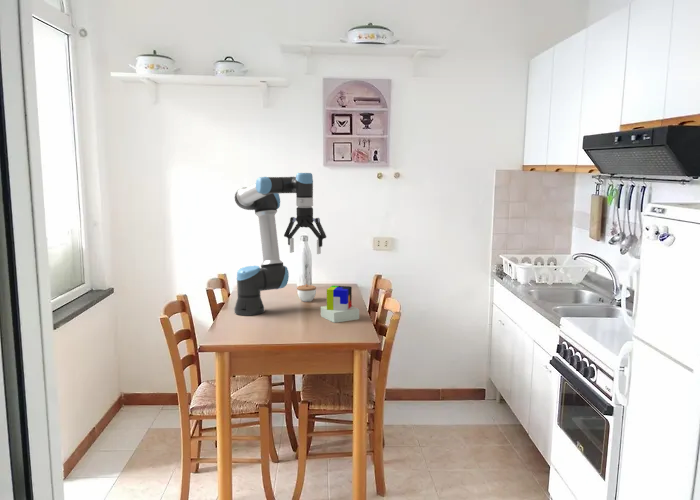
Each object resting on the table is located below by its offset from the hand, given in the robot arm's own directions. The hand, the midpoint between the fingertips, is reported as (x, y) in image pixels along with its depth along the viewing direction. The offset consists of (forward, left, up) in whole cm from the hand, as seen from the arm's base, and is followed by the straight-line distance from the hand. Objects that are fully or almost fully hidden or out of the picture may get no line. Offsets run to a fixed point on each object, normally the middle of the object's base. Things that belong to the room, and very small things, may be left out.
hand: (305, 253), depth 253 cm
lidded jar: (-47, +23, -35) cm, 63 cm away
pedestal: (-5, +21, -35) cm, 41 cm away
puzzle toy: (-5, +21, -30) cm, 37 cm away
